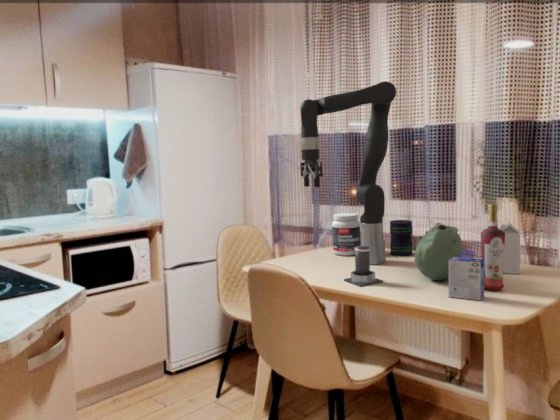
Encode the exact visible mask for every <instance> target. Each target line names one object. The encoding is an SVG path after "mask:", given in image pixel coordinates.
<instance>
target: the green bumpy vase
mask: <svg viewBox="0 0 560 420" xmlns="http://www.w3.org/2000/svg"><path fill="white" fill-rule="evenodd" d="M458 232H459V229H458V227H456V226H450V225H445V224H442V223H441V222H437V223H434V226H433V227H431V228H430V229H429V230H426V231H425V233H424V234H423V235H419V236H418V238H417V241H418V242H417V244H416V246H415V252H414V262H415V265H416V267H417V269H418V270H419V271H420V273H421V274H422V275H423V276H424V277H426V278H428V279H430V280H432V281H444V280H449V260H450V259H451V258H452V257H459V258H460V255H461V251H464V250H463V246H462V237H461V236H460V234H459V233H458Z"/></svg>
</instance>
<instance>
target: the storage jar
mask: <svg viewBox="0 0 560 420" xmlns="http://www.w3.org/2000/svg"><path fill="white" fill-rule="evenodd" d="M389 224H390V225H389V234H390V243H389V246H390V247H389V249H390V255H391V256H393V257H399V256H400V257H410V256H413V249H414V248H413V247H414V246H413V240H412V238H413V235H412V234H413V221H412V220H408V219H396V220H390V221H389Z"/></svg>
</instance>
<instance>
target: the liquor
mask: <svg viewBox="0 0 560 420" xmlns="http://www.w3.org/2000/svg"><path fill="white" fill-rule="evenodd" d="M487 206H488V207H487V209H488V210H487V211H488V222H487V223H488V224H487V228H486V229H485V228H484V229H482V230H481V232H480V248H481V250H480V251H481V259H484V290H487V291H488V292H489V291H490V292H499V291H501V290H502V289H503V288H504V287H505V285H504V283H503V282H504V273H503V261H504V248H505V232H504V231H502V230H500V228H499V227H498V215H497V214H498V203H497V204H496V203H495V204H494V203H490V204H489V203H488V204H487Z"/></svg>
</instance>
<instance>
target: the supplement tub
mask: <svg viewBox="0 0 560 420" xmlns="http://www.w3.org/2000/svg"><path fill="white" fill-rule="evenodd" d="M358 219H359V214H358V213H356V212H355V213H353V212H341V213H335V214H333V221H332V224H331V230H332V232H331V233H332V235H331V236H332V252H333V253H334V255H337V256H343V257H346V256H347V257H348V256H349V257H350V256H355V247H356V246H361V228H360V220H358Z"/></svg>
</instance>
